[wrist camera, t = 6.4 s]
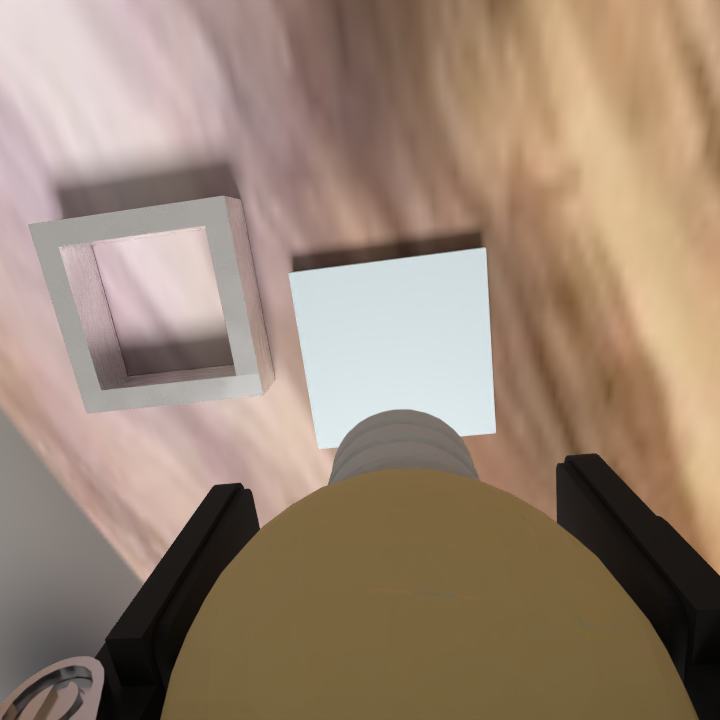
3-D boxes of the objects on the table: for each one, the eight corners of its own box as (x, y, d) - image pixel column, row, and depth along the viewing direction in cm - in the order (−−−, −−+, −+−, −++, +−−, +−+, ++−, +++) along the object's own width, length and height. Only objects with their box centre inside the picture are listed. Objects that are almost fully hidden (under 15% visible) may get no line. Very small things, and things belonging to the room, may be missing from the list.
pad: (481, 247, 23) (485, 247, 22) (491, 425, 25) (495, 433, 24) (292, 271, 24) (288, 273, 23) (320, 441, 26) (318, 448, 25)
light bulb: (476, 579, 13) (696, 1455, 4) (271, 528, 13) (-31, 1274, 4) (551, 386, 12) (1322, 1100, 2) (315, 326, 12) (-42, 763, 2)
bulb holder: (241, 199, 23) (223, 195, 21) (275, 380, 26) (263, 395, 23) (64, 225, 24) (28, 224, 22) (114, 397, 26) (86, 413, 24)
